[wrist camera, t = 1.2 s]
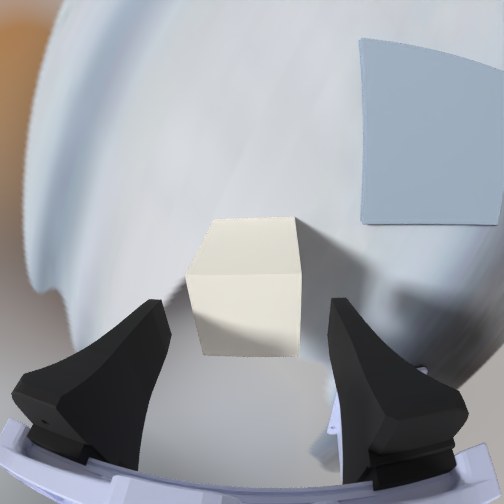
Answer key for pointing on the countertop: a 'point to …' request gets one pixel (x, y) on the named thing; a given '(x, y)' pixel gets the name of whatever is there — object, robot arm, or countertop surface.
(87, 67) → the countertop surface
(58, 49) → the countertop surface
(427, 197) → the mat
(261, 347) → the cream block
